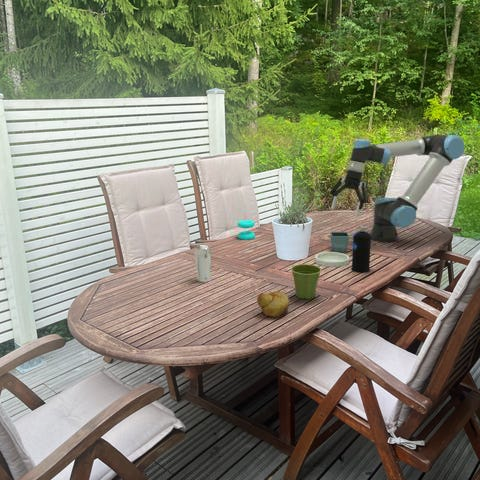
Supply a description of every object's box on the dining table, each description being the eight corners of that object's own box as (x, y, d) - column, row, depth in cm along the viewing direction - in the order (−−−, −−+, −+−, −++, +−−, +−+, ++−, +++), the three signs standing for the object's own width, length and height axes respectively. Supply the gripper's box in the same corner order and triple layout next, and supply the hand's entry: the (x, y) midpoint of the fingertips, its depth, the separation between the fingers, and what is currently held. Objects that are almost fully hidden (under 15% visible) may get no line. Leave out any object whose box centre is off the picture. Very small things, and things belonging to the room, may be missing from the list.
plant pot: (313, 304, 165) (314, 276, 162) (285, 298, 171) (285, 271, 168) (325, 293, 174) (326, 266, 171) (298, 288, 180) (298, 262, 177)
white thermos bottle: (214, 277, 195) (212, 245, 191) (208, 283, 188) (206, 249, 184) (200, 276, 197) (198, 244, 193) (193, 281, 191) (191, 248, 187)
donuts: (258, 221, 254) (245, 224, 247) (258, 237, 256) (246, 241, 250) (246, 218, 261) (233, 221, 254) (246, 234, 263) (234, 238, 257)
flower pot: (346, 248, 232) (347, 231, 229) (348, 253, 223) (349, 236, 221) (329, 248, 233) (330, 231, 230) (331, 253, 224) (331, 236, 222)
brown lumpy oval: (275, 302, 168) (275, 282, 165) (297, 308, 162) (297, 288, 159) (254, 314, 158) (254, 293, 156) (277, 321, 152) (277, 300, 150)
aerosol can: (371, 267, 202) (373, 225, 196) (368, 273, 195) (370, 229, 189) (353, 265, 205) (355, 224, 200) (349, 271, 198) (351, 228, 193)
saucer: (340, 255, 221) (341, 250, 220) (354, 265, 206) (354, 260, 205) (310, 257, 218) (310, 253, 218) (322, 268, 203) (322, 263, 203)
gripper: (330, 165, 224) (320, 205, 228) (375, 175, 209) (364, 218, 213) (336, 166, 229) (326, 206, 234) (381, 176, 215) (370, 218, 219)
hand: (344, 212), depth 224 cm, fingers open, 13 cm apart
